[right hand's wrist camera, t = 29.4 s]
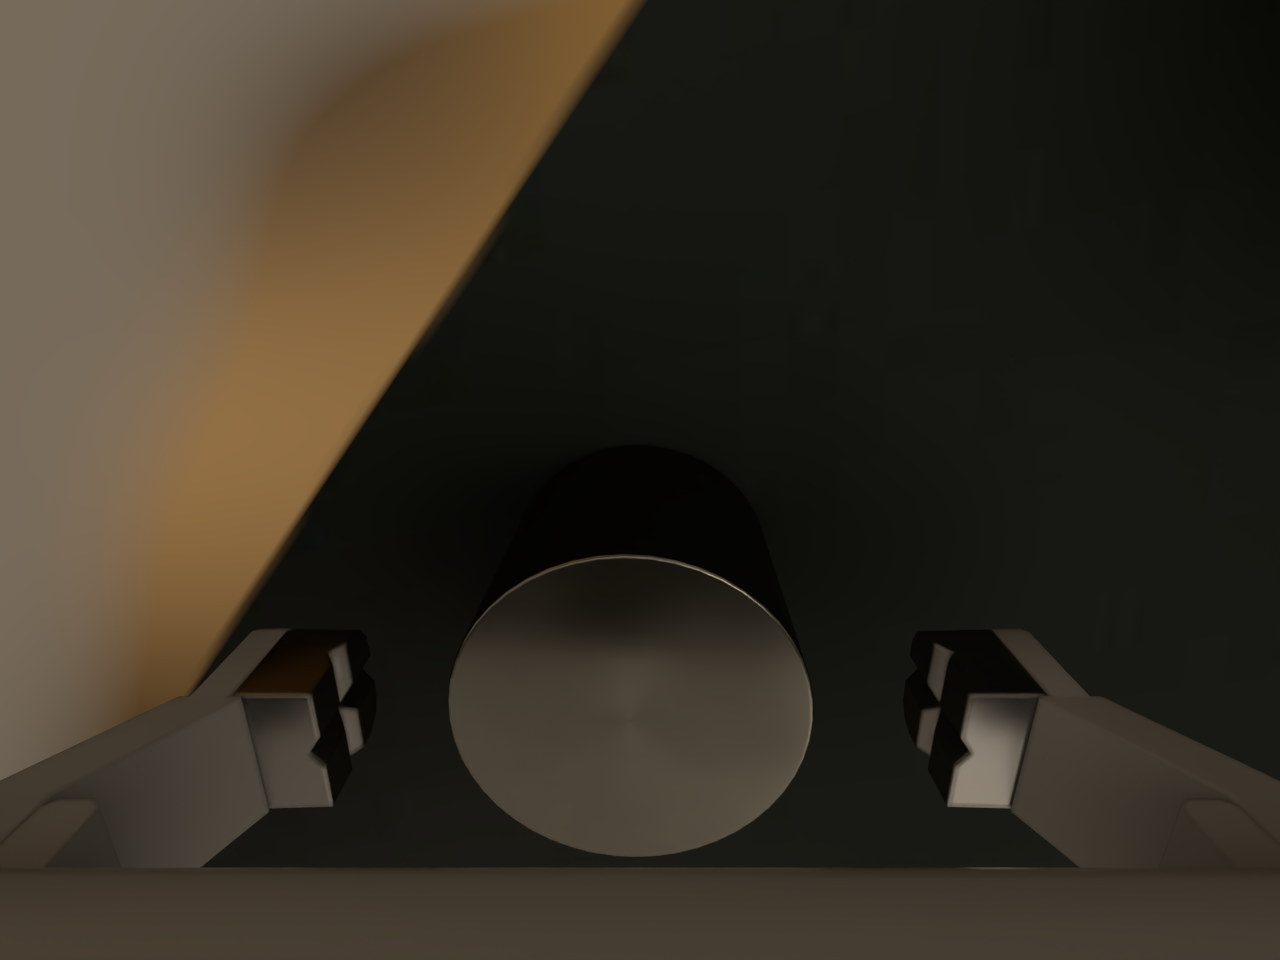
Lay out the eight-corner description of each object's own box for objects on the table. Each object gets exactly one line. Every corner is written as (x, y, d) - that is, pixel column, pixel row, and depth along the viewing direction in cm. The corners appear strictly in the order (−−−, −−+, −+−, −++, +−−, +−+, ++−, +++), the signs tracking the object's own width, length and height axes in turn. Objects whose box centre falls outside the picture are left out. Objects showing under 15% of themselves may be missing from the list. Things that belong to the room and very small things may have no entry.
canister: (752, 427, 13) (799, 530, 8) (777, 656, 15) (826, 842, 10) (490, 464, 13) (404, 581, 9) (543, 683, 15) (493, 872, 11)
